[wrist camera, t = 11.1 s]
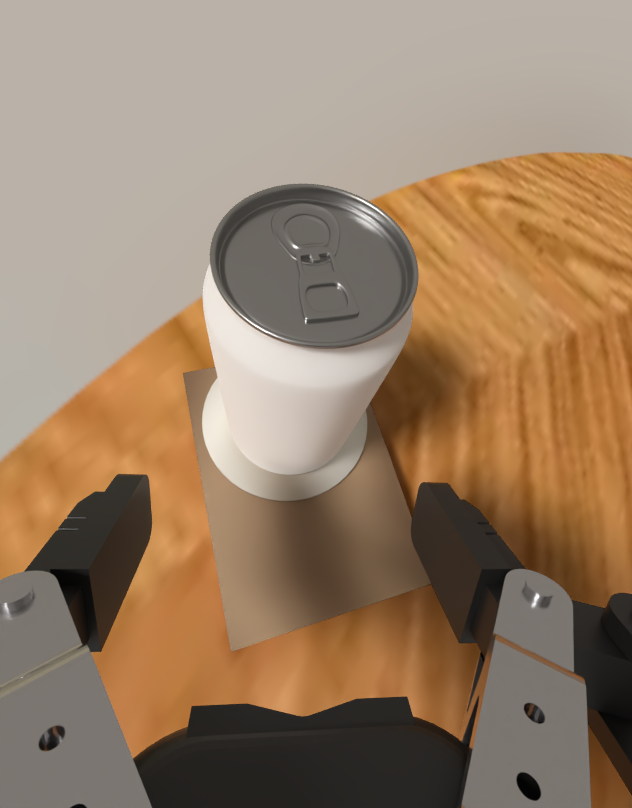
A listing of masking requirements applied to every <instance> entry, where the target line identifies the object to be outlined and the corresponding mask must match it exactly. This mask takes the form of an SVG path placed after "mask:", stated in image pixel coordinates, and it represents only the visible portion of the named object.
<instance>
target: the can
mask: <svg viewBox="0 0 632 808" xmlns="http://www.w3.org/2000/svg"><path fill="white" fill-rule="evenodd" d="M417 286H418V265H417V260H416V256H415V253H414V250H413V248H412V246H411V243H410V242H409V240H408V238H407V236H406V235H405V233H404V232H403V231H402V229H401V228H400V227H399V226H398V224H397V223H396V222H395V221H394V220H393V219H392V218H391V217H390V216H389V215H387V214H386V213H385V212H384V211H383V210H381V209H380V208H378V207H377V206H376V205H374V204H372V203H371V202H369V201H367V200H365V199H363V198H361V197H359V196H357V195H355V194H352V193H350V192H347V191H344V190H341V189H337V188H333V187H329V186H323V185H315V184H289V185H281V186H276V187H272V188H268V189H265V190H262V191H260V192H257V193H255V194H253V195H251V196H249V197H247V198H245V199H244V200H242V201H241V202H239V203H238V204H237V205H235V206H234V207H233V208H232V209H231V210H230V211H229V212H228V213H227V214H226V215H225V216H224V217H223V219H222V220H221V222H220V223H219V225H218V227H217V229H216V231H215V233H214V236H213V239H212V243H211V249H210V265H209V267H208V270H207V273H206V276H205V280H204V286H203V308H204V315H205V321H206V327H207V331H208V336H209V341H210V345H211V350H212V354H213V359H214V363H215V368H216V372H217V377H218V381H219V385H220V390H221V394H222V398H223V403H224V407H225V411H226V415H227V420H228V424H229V428H230V431H231V434H232V437H233V439H234V441H235V443H236V445H237V447H238V448H239V449H240V451H241V452H242V453H243V454H244V456H245V457H246V458H248V459H249V460H250V461H251V462H252V463H254V464H255V465H257V466H259V467H260V468H262V469H265V470H267V471H270V472H273V473H277V474H284V475H296V474H303V473H307V472H310V471H313V470H315V469H318V468H320V467H321V466H323V465H324V464H326V463H327V462H329V461H330V460H331V459H332V458H333V457H334V456H335V455H336V454H337V453H338V451H339V450H340V449H341V447H342V446H343V444H344V443H345V441H346V440H347V438H348V437H349V435H350V433H351V432H352V430H353V429H354V427H355V426H356V424H357V422H358V421H359V419H360V418H361V416H362V414H363V413H364V411H365V410H366V408H367V406H368V405H369V403H370V402H371V400H372V398H373V397H374V395H375V394H376V392H377V390H378V389H379V387H380V386H381V384H382V382H383V381H384V379H385V377H386V376H387V374H388V372H389V371H390V369H391V367H392V366H393V364H394V363H395V361H396V359H397V357H398V356H399V354H400V352H401V350H402V348H403V346H404V344H405V342H406V339H407V337H408V334H409V331H410V328H411V323H412V316H413V300H414V297H415V294H416V291H417Z"/></svg>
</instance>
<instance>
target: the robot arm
mask: <svg viewBox="0 0 632 808" xmlns="http://www.w3.org/2000/svg"><path fill="white" fill-rule="evenodd" d="M151 529H152V514H151V501H150V487H149V479H148V476H147V475H135V474H118V475H116V477H115V478H114V479H113V481H112V482H111V484H110V485H109V486H108V488H107V489H106V491H105V492H94V493H92V494H91V495H89V496H88V497H86V498H85V499H83V500H82V501H80V502H79V503H78V504H77V505H76V506H75V507H74V509H73V510H72V511H71V512H70V514H69V515H68V516H67V519H65V520H64V521H63V523H62V524H61V525H60V527H59V529H58V531H56V532H55V533H54V534H53V535H52V537H51V538H50V539H49V541H48V542H47V543H46V544H45V546H44V547H43V548H42V549H41V551H40V552H39V553H38V555H37V556H36V557H35V558H34V560H33V561H32V562H31V564H30V565H29V566H28V567H27V569H26V570H25V571H24V572H21V573H17V574H14V575H11V576H9V577H6V578H4V579H2V580H0V808H591V791H590V768H589V744H588V724H589V726H590V728H591V729H592V731H593V732H594V734H595V736H596V737H597V739H598V741H599V742H600V744H601V746H602V747H603V749H604V750H605V752H606V754H607V755H608V757H609V759H610V760H611V762H612V764H613V765H614V767H615V769H616V770H617V772H618V773H619V775H620V777H621V778H622V780H623V782H624V783H625V785H626V787H627V788H628V790H629V791H630V793H631V795H632V594H627V593H618V594H614V595H613V596H612V597H611V598H610V600H609V602H608V604H607V606H606V608H601V607H597V606H593V605H589V604H585V603H581V602H577V601H573V600H571V599H570V597H569V595H568V594H567V593H566V591H565V590H564V589H563V588H562V587H561V586H560V585H558V584H557V583H556V582H554V581H553V580H551V579H550V578H548V577H546V576H544V575H542V574H540V573H538V572H535V571H531V570H527V569H525V568H524V566H523V565H522V564H521V563H520V561H519V560H518V559H517V558H516V556H515V555H514V554H513V552H512V551H511V550H510V549H509V547H508V546H507V545H506V544H505V542H504V541H503V540H502V538H501V537H500V536H499V535H497V532H496V531H495V530H494V528H493V527H492V526H491V525H489V522H488V521H487V519H486V518H485V517H484V516H483V514H482V513H481V512H480V510H478V509H477V508H476V507H474V506H473V505H471V504H470V503H469V502H467V501H466V500H460V499H459V497H458V496H457V495H456V493H455V492H454V491H453V489H452V488H451V486H450V485H449V484H448V483H430V482H423V483H421V484H420V486H419V490H418V494H417V499H416V504H415V508H414V513H413V518H412V522H411V539H412V543H413V546H414V548H415V550H416V552H417V554H418V556H419V559H420V561H421V563H422V565H423V567H424V569H425V571H426V574H427V576H428V578H429V580H430V582H431V584H432V586H433V588H434V591H435V593H436V595H437V597H438V599H439V601H440V603H441V606H442V608H443V610H444V612H445V614H446V616H447V618H448V621H449V623H450V625H451V627H452V629H453V631H454V633H455V636H456V638H457V640H458V642H459V643H477V644H478V646H479V648H480V650H481V651H480V654H479V657H478V660H477V664H476V668H475V672H474V676H473V680H472V684H471V689H470V693H469V697H468V701H467V705H466V710H465V714H464V718H463V722H462V726H461V730H460V733H459V737H458V738H456V737H455V736H453V735H452V734H450V733H449V732H447V731H446V730H444V729H442V728H440V727H438V726H437V725H435V724H433V723H430V722H428V721H425V720H423V719H420V718H417V717H413V715H412V712H411V708H410V705H409V701H408V698H407V697H387V698H364V699H355V700H352V701H349V702H346V703H344V704H341V705H338V706H335V707H332V708H329V709H327V710H324V711H321V712H318V713H315V714H313V715H310V716H304V717H301V716H296V715H292V714H288V713H284V712H279V711H275V710H271V709H267V708H263V707H259V706H255V705H251V704H229V705H207V706H192V708H191V713H190V719H189V724H188V727H186V728H183V729H181V730H178V731H176V732H174V733H172V734H170V735H168V736H165V737H163V738H162V739H160V740H159V741H157V742H155V743H154V744H152V745H150V746H149V747H148V748H146V749H145V750H144V751H142V752H141V753H140V754H138V755H137V756H136V757H134V758H132V756H131V753H130V751H129V748H128V746H127V743H126V740H125V738H124V735H123V733H122V730H121V728H120V725H119V723H118V720H117V718H116V715H115V713H114V710H113V708H112V705H111V703H110V700H109V698H108V695H107V692H106V690H105V687H104V685H103V682H102V680H101V677H100V675H99V672H98V670H97V667H96V665H95V662H94V660H93V657H92V655H91V652H101V651H102V648H103V646H104V644H105V641H106V639H107V637H108V635H109V632H110V630H111V628H112V625H113V623H114V621H115V619H116V616H117V614H118V612H119V609H120V607H121V605H122V602H123V600H124V598H125V596H126V593H127V591H128V589H129V586H130V584H131V582H132V579H133V577H134V575H135V573H136V570H137V568H138V566H139V563H140V561H141V559H142V557H143V554H144V552H145V550H146V547H147V545H148V543H149V539H150V535H151Z"/></svg>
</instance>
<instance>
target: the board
mask: <svg viewBox="0 0 632 808" xmlns="http://www.w3.org/2000/svg"><path fill="white" fill-rule="evenodd" d="M183 376H184V382H185V388H186V394H187V400H188V405H189V411H190V417H191V423H192V429H193V435H194V440H195V446H196V452H197V458H198V464H199V469H200V475H201V481H202V487H203V493H204V498H205V504H206V510H207V516H208V522H209V527H210V533H211V539H212V545H213V551H214V557H215V562H216V568H217V574H218V580H219V586H220V591H221V597H222V603H223V609H224V615H225V620H226V626H227V632H228V638H229V644H230V650H231V652H232V651H235V650H238V649H241V648H244V647H247V646H250V645H253V644H255V643H258V642H261V641H264V640H267V639H270V638H273V637H276V636H279V635H282V634H285V633H288V632H291V631H294V630H297V629H300V628H303V627H306V626H309V625H312V624H315V623H318V622H320V621H323V620H326V619H329V618H332V617H335V616H338V615H341V614H344V613H347V612H350V611H353V610H356V609H359V608H362V607H365V606H368V605H371V604H374V603H377V602H380V601H382V600H385V599H388V598H391V597H394V596H397V595H400V594H403V593H406V592H409V591H412V590H415V589H418V588H421V587H424V586H427V585H430V584H431V582H430V580H429V578H428V576H427V574H426V571H425V569H424V567H423V565H422V563H421V561H420V559H419V556H418V554H417V552H416V550H415V548H414V546H413V543H412V539H411V522H412V517H411V514H410V511H409V509H408V506H407V503H406V500H405V497H404V495H403V492H402V489H401V486H400V483H399V481H398V478H397V475H396V472H395V469H394V467H393V464H392V461H391V458H390V455H389V453H388V450H387V447H386V444H385V441H384V439H383V436H382V433H381V430H380V427H379V425H378V422H377V419H376V416H375V413H374V410H373V408H372V405H371V402H370V403H369V405H368V406H367V408H366V410H365V411H364V413H363V414H362V416H361V418H360V419H359V421H358V422H357V424H356V426H355V427H354V429H353V430H352V432H351V433H350V435H349V437H348V438H347V440H346V441H345V443H344V444H343V446H342V447H341V449H340V450H339V451H338V453H337V454H336V455H335V456H334V457H333V458H332V459H331V460H330V461H329V462H327V463H326V464H324V465H323V466H321V467H320V468H318V469H315V470H313V471H310V472H307V473H303V474H296V475H284V474H277V473H273V472H270V471H267V470H265V469H262V468H260V467H259V466H257V465H255V464H254V463H252V462H251V461H250V460H249V459H248V458H246V457H245V456H244V454H243V453H242V452H241V451H240V449H239V448H238V447H237V445H236V443H235V441H234V439H233V437H232V434H231V431H230V428H229V424H228V420H227V415H226V411H225V407H224V403H223V398H222V394H221V390H220V385H219V381H218V377H217V372H216V368H215V367H213V368H208V369H202V370H197V371H191V372H186V373H183Z"/></svg>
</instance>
